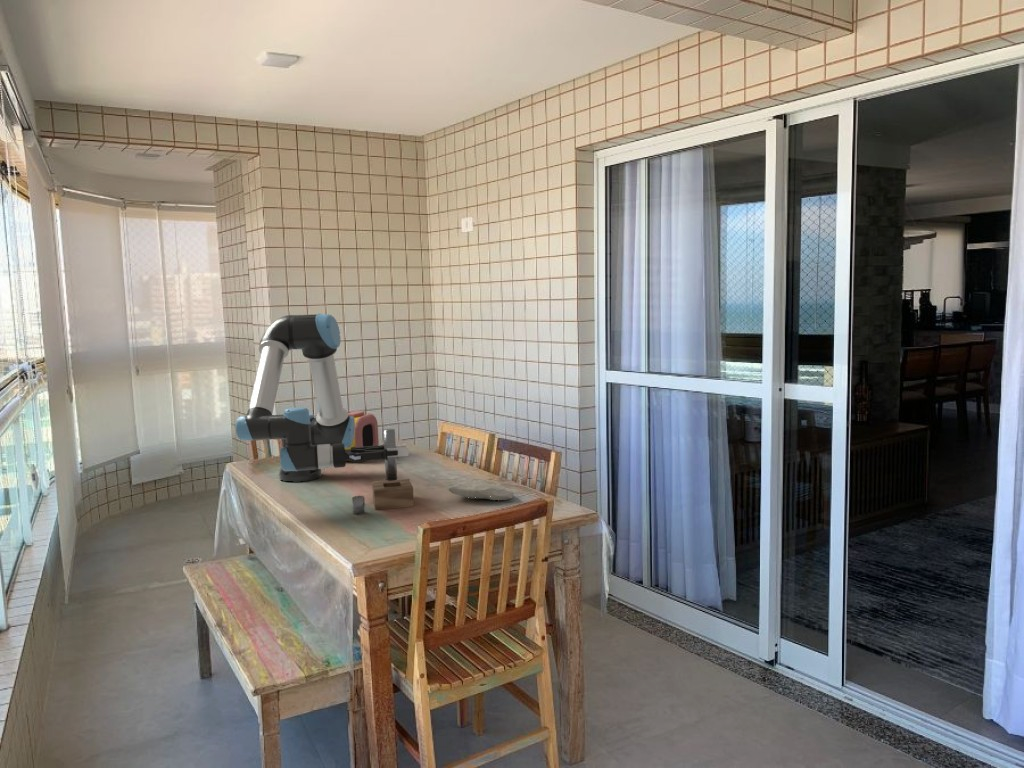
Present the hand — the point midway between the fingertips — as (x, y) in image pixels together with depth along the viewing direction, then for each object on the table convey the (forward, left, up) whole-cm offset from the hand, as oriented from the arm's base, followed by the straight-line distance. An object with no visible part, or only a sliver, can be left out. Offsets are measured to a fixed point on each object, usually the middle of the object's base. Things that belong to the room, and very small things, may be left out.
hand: (407, 450), depth 245 cm
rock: (+2, +21, -17) cm, 27 cm away
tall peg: (0, -5, -9) cm, 10 cm away
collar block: (0, -5, -17) cm, 18 cm away
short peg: (+8, -16, -17) cm, 25 cm away
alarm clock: (-73, -13, -17) cm, 76 cm away
